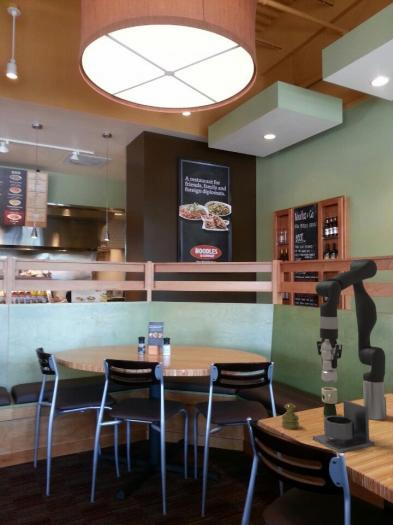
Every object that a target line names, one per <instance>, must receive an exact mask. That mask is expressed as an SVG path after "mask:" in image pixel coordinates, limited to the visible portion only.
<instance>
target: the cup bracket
mask: <svg viewBox="0 0 393 525" xmlns="http://www.w3.org/2000/svg"><path fill="white" fill-rule="evenodd" d="M342 402H343V415H342V416H341V415H337V416H324V418H323V432H324V433H323V434H319V435H313V436H312V440H313V441H316V442H318V443H319V444H321V445H323V446H324V447H327V448H329V449H331V450H333V451H334V450H335V452H336V453H338V452H341V453H344V452H350V451H355V450H358V449H363V448H368V447H373V446H375V445H376V444H375V441H373V440H371V439H370V424H369V423H370V419H369V416H368V408H367V407H364V405H362V404H358V403H356V402H354V401H353V402H352V401H351V400H343V401H342Z"/></svg>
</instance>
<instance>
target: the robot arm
mask: <svg viewBox="0 0 393 525" xmlns="http://www.w3.org/2000/svg"><path fill="white" fill-rule="evenodd" d="M377 272H378V265H377V263H376V262H375V261H374V260H373V259H369V258H367V259H364V258H363V259H354V260H352V261H351V263H350V266H349V270H346V271H343V272H341V273H339V274H336V275H335V276H334V277H333V276H332V277H329V278H325V279H322V280H320V281H319V282H318V283H317V284H316V286H315V293H316V294H317V295H318V296H319V297H321V298H328V299H327V302H326V301H325V302H323V303H321V304H320V306H319V308H320V309H319V313H320V314H319V316H320V318H319V338H320V339H321V340H317V341H316V347H317V354H318V356H320V357H321V365H322V367H323V359H322V351H321V345H322V344H323V342H324V341H325V339H329V342H330V344H331V347H332V348H334V347H335V352H332V351H331V350H330V354H331V358H332V368H333V369H335V368H336V369H337V368H338V360H339V359H342V353H343V344H339V343H338V341H337V340H338V339H339V321H338V306H339V302H340V298H341V295H342V291H344V290H346V289H348V288H349V287H351V286H352V288H353V289H352V290H353V294H354V305H355V307H354V308H355V315H356V323H357V324H356V327H357V342H358V343H357V347H358V348H357V351H358V352H357V353H358V354H357V356H358V360H359V361H360V363H361V364H362V365H365V366H370V368H371V369H370V371H369V372H365V373H363V374H362V388H363V389H362V391H363V392H362V393H363V394H362V395H363V406H364V407H367V408H368V416H369V420H373V421H382V420H385V419H386V418H387V417H388V416H387V397H386V396H385V375H386V353H385V350H384V349H383V348H381V347H377V346H372V345H371V334H372V331H373V329H374V327H375V325H376V323H377V319H378V314H377V306H376V303H375V301H374V300H373V297H371V296H370V294H369V293H368V292H367V290H366V288H365V285H364V281H365V280H368V279H372V278H374V277H375V276H376V275H377ZM328 345H329V344H328ZM333 354H335V356H334V355H333Z"/></svg>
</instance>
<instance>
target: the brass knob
mask: <svg viewBox="0 0 393 525" xmlns="http://www.w3.org/2000/svg"><path fill="white" fill-rule="evenodd" d="M284 408H285V409H286V412H285V413H284V414H282V416H281V419H282V421H281V425H282V427H283V428H285V429H287V430H296V429H299V427H300V425H299V424H300V422H299V418H300V417H299V416H298V415H297V414H296V413H295V412H294V410H295V409H296V408H297V407H296V405H294V404H293V403H287V404H285V405H284Z"/></svg>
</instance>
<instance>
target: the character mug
mask: <svg viewBox="0 0 393 525" xmlns="http://www.w3.org/2000/svg"><path fill="white" fill-rule="evenodd" d="M321 402H322V403H324V404H323V412H322V413H323V414H322V415H323V416H324V417H327V416H338V415H337V407H336V404H337V403H338V389H337V388H335V387H330V386H325V387H321Z"/></svg>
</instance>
